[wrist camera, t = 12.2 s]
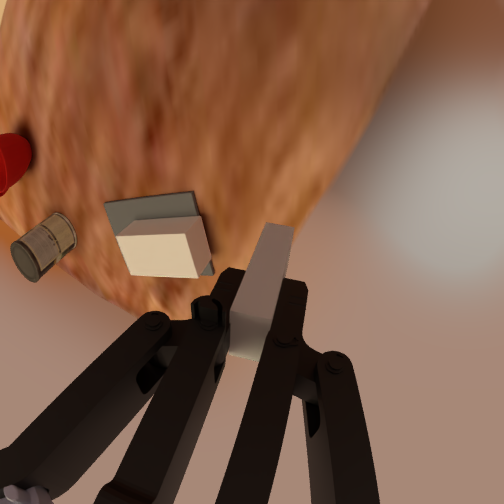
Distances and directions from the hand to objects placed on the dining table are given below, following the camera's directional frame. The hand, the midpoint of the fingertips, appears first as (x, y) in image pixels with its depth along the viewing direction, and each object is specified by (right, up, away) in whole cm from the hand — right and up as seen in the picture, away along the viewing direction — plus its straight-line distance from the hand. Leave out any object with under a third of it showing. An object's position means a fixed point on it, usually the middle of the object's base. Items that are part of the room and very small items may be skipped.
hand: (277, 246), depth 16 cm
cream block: (-10, +1, +31) cm, 33 cm away
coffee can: (-47, +5, +45) cm, 65 cm away
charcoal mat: (-19, +3, +38) cm, 42 cm away
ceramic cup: (-56, +22, +37) cm, 71 cm away
